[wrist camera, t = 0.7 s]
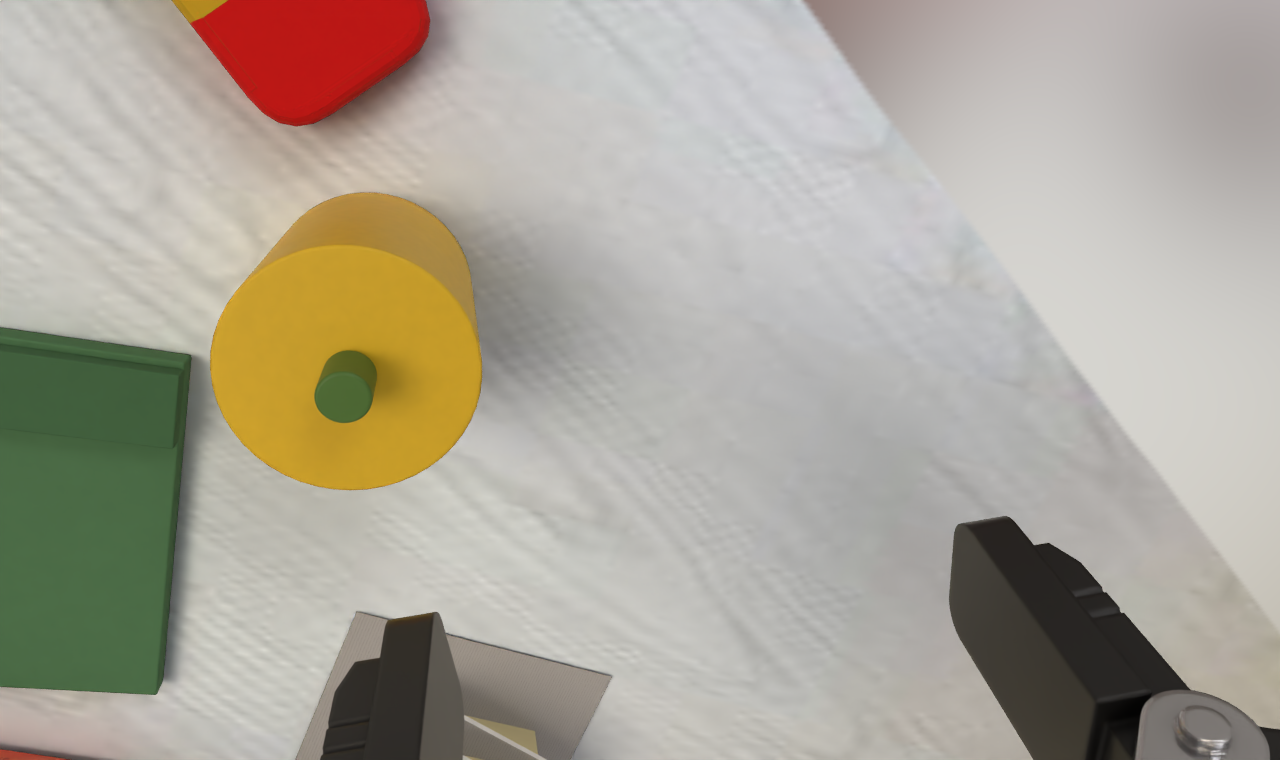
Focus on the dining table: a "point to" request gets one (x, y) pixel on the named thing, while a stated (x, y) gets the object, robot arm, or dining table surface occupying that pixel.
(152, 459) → the green notebook
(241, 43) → the popsicle
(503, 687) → the stacked layers on plate
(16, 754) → the cracker box
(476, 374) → the yellow cylinder with peg
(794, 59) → the dining table surface
